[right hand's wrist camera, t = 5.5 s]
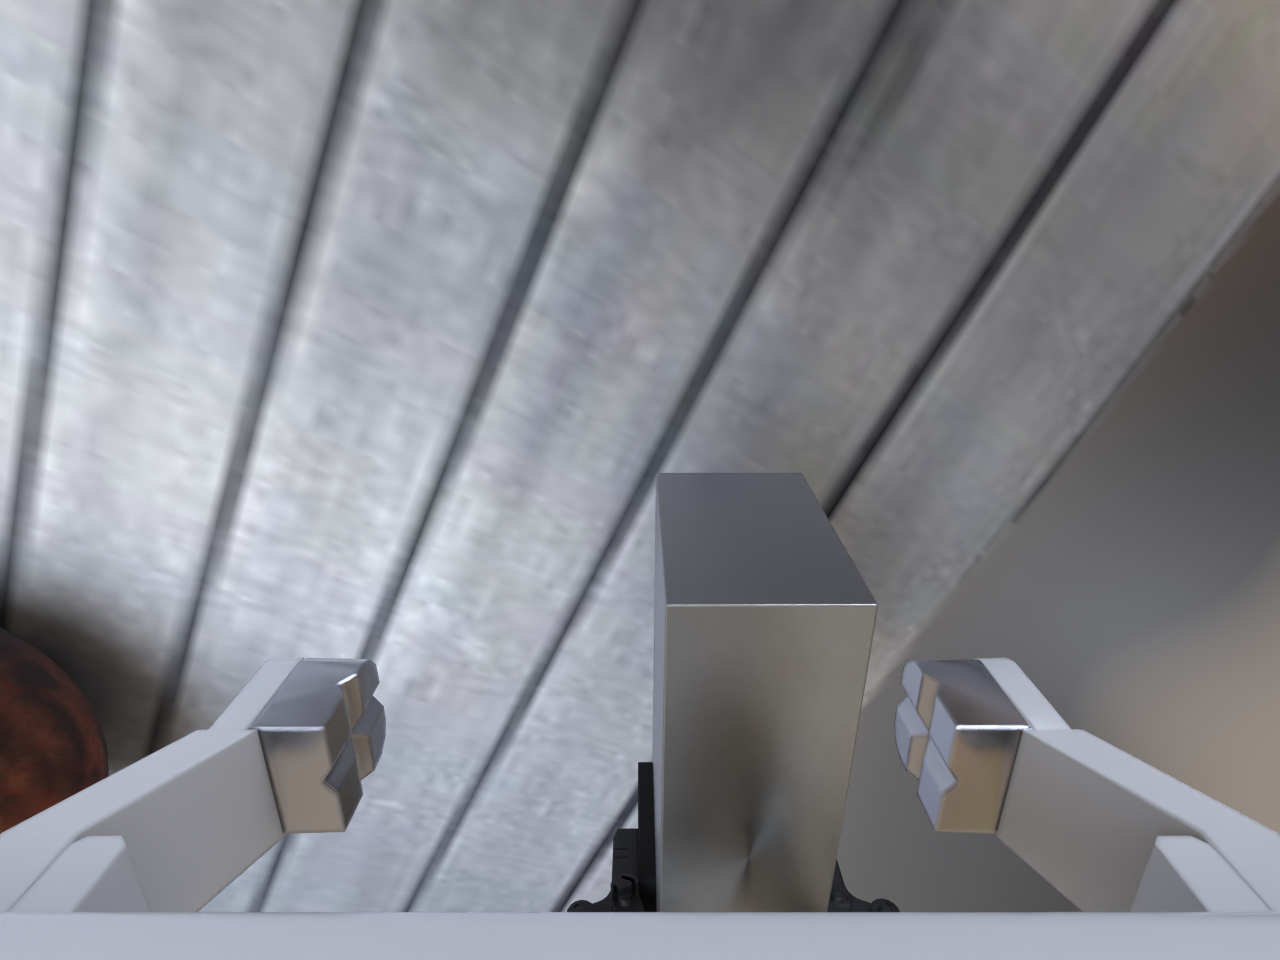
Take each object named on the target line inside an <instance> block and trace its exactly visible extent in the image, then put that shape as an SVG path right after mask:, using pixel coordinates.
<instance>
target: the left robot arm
mask: <svg viewBox="0 0 1280 960" xmlns="http://www.w3.org/2000/svg"><path fill="white" fill-rule="evenodd" d="M567 912H656V859H655V824H654V788H653V762H638V829H618V830H617V832H616V834H615V836H614V838H613V866H612V883H611V891H610V893H609V894H608V896H607V897H606V898H604V899H603V900H601V901H599V902H596V903H593V904H592V903H590V902H588V901H585V900H579V901H575V902H574V903H573V904H571V905H570V907H569V908H568V910H567ZM828 912H900V911H899V909H898V907H897V906H896V905H895V904H894V903H892V902H890V901H889V900H886V899H876V900H875V901H873V902H872V903H868V902H865V901H862V900H860V899H857V898H855V897H854V896H852V895H851V894H850V893H849V892H848V890H847V889H846V887H845V885H844V882H843V879H842V875H841V872H840V869H839V865H838V862H837V858H836V865H835V871H834V877H833V883H832V889H831V895H830V901H829V907H828Z"/></svg>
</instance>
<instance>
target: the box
mask: <svg viewBox="0 0 1280 960" xmlns="http://www.w3.org/2000/svg"><path fill="white" fill-rule="evenodd" d="M877 608H878V605H877V603H876V601H875V599H874V598H873V596H872V594H871V592H870V591H869V589H868V587H867V585H866V584H865V582H864V580H863V578H862V577H861V575H860V573H859V572H858V570H857V568H856V566H855V565H854V563H853V561H852V559H851V558H850V556H849V554H848V552H847V551H846V549H845V547H844V546H843V544H842V542H841V540H840V539H839V537H838V535H837V533H836V532H835V530H834V528H833V526H832V525H831V523H830V521H829V519H828V518H827V516H826V514H825V513H824V511H823V509H822V507H821V506H820V504H819V502H818V500H817V499H816V497H815V495H814V493H813V492H812V490H811V488H810V487H809V485H808V483H807V481H806V480H805V478H804V476H803V474H802V473H657V474H656V527H655V606H654V684H653V788H654V824H655V859H656V912H828V907H829V901H830V895H831V889H832V883H833V877H834V871H835V865H836V858H837V852H838V846H839V840H840V834H841V828H842V822H843V816H844V810H845V803H846V797H847V791H848V785H849V779H850V773H851V767H852V761H853V755H854V748H855V742H856V736H857V730H858V724H859V718H860V712H861V706H862V700H863V693H864V687H865V681H866V675H867V669H868V663H869V657H870V651H871V645H872V638H873V632H874V626H875V620H876V614H877Z"/></svg>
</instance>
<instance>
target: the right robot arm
mask: <svg viewBox="0 0 1280 960" xmlns="http://www.w3.org/2000/svg"><path fill="white" fill-rule="evenodd" d="M379 683H380V682H379V677H378V673H377V668H376V664H375V663H374V662H372V661H371V660H370V659H328V658H306V659H304V658H273V659H271V660H268V661H266V662H265V663H264V664H263V665H262V666H261V668H260V669H259V670H258V671H257V672H256V673H255V675H254V676H253V677H252V678H251V679H250V681H249V682H248V683H247V684H246V685H245V687H244V688H243V689H242V690H241V691H240V692H239V694H238V695H237V696H236V697H235V698H234V700H233V701H232V702H231V703H230V704H229V706H228V707H227V708H226V709H225V710H224V711H223V713H222V714H221V715H220V716H219V717H218V719H217V720H216V721H215V722H214V723H213V725H212V726H211V727H210V728H209V729H208V730H196V731H194V732H192V733H190V734H188V735H186V736H185V737H183V738H181V739H179V740H177V741H175V742H173V743H171V744H169V745H167V746H166V747H164V748H162V749H160V750H158V751H156V752H154V753H152V754H150V755H148V756H147V757H145V758H143V759H141V760H139V761H137V762H135V763H133V764H131V765H130V766H128V767H126V768H124V769H122V770H120V771H118V772H116V773H114V774H112V775H111V776H109V777H107V778H105V779H103V780H101V781H99V782H97V783H95V784H93V785H92V786H90V787H88V788H86V789H84V790H82V791H80V792H78V793H76V794H75V795H73V796H71V797H69V798H67V799H65V800H63V801H61V802H59V803H57V804H56V805H54V806H52V807H50V808H48V809H46V810H44V811H42V812H40V813H38V814H37V815H35V816H33V817H31V818H29V819H27V820H25V821H23V822H21V823H20V824H18V825H16V826H14V827H12V828H10V829H8V830H6V831H4V832H2V833H1V834H0V960H1280V834H1279V833H1277V832H1275V831H1273V830H1271V829H1269V828H1268V827H1266V826H1264V825H1262V824H1260V823H1258V822H1256V821H1254V820H1252V819H1251V818H1249V817H1247V816H1245V815H1243V814H1241V813H1239V812H1237V811H1235V810H1234V809H1232V808H1230V807H1228V806H1226V805H1224V804H1222V803H1220V802H1218V801H1216V800H1215V799H1213V798H1211V797H1209V796H1207V795H1205V794H1203V793H1201V792H1199V791H1198V790H1196V789H1194V788H1192V787H1190V786H1188V785H1186V784H1184V783H1182V782H1181V781H1179V780H1177V779H1175V778H1173V777H1171V776H1169V775H1167V774H1165V773H1163V772H1162V771H1160V770H1158V769H1156V768H1154V767H1152V766H1150V765H1148V764H1146V763H1145V762H1143V761H1141V760H1139V759H1137V758H1135V757H1133V756H1131V755H1130V754H1128V753H1126V752H1124V751H1122V750H1120V749H1118V748H1116V747H1114V746H1112V745H1111V744H1109V743H1107V742H1105V741H1103V740H1101V739H1099V738H1097V737H1095V736H1094V735H1092V734H1090V733H1088V732H1086V731H1084V730H1072V729H1071V728H1070V727H1069V726H1068V725H1067V723H1066V722H1065V721H1064V720H1063V719H1062V717H1061V716H1060V715H1059V714H1058V713H1057V712H1056V710H1055V709H1054V708H1053V707H1052V706H1051V704H1050V703H1049V702H1048V701H1047V700H1046V699H1045V697H1044V696H1043V695H1042V694H1041V693H1040V691H1039V690H1038V689H1037V688H1036V687H1035V685H1034V684H1033V683H1032V682H1031V681H1030V680H1029V678H1028V677H1027V676H1026V675H1025V674H1024V672H1023V671H1022V670H1021V669H1020V668H1019V667H1018V665H1017V664H1016V663H1015V662H1014V661H1012V660H1010V659H1008V658H975V659H972V660H907V662H906V664H905V666H904V668H903V671H902V677H901V684H902V686H903V688H904V690H905V692H906V694H907V696H906V697H905V698H904V699H903V700H902V701H901V702H900V703H899V704H898V705H897V706H896V714H895V722H894V729H895V741H896V746H897V750H898V753H899V757H900V759H901V761H902V763H903V766H904V768H905V770H906V771H907V772H909V773H910V774H911V775H913V776H914V777H915V778H917V779H918V780H919V786H918V791H917V795H918V797H919V799H920V801H921V804H922V805H923V808H924V810H925V812H926V814H927V816H928V818H929V820H930V822H931V824H932V826H933V828H934V830H935V832H958V833H993V834H996V837H997V838H998V839H999V840H1001V841H1002V842H1003V843H1004V844H1005V845H1006V846H1007V847H1009V848H1010V849H1011V850H1012V851H1013V852H1014V853H1016V854H1017V855H1018V856H1019V857H1020V858H1021V859H1022V860H1024V861H1025V862H1026V863H1027V864H1028V865H1029V866H1031V867H1032V868H1033V869H1034V870H1035V871H1036V872H1037V873H1039V874H1040V875H1041V876H1042V877H1043V878H1044V879H1046V880H1047V881H1048V882H1049V883H1050V884H1051V885H1052V886H1054V887H1055V888H1056V889H1057V890H1058V891H1059V892H1060V893H1062V894H1063V895H1064V896H1065V897H1066V898H1067V899H1069V900H1070V901H1071V902H1072V903H1073V904H1074V905H1075V906H1077V907H1078V908H1079V909H1080V910H1081V911H1082V912H982V913H981V912H980V913H939V912H936V913H935V912H933V913H932V912H931V913H930V912H929V913H928V912H198V911H199V910H200V909H201V908H202V907H204V906H205V905H206V904H207V903H208V902H209V901H211V900H212V899H213V898H214V897H215V896H216V895H217V894H219V893H220V892H221V891H222V890H223V889H224V888H226V887H227V886H228V885H229V884H230V883H231V882H232V881H234V880H235V879H236V878H237V877H238V876H239V875H241V874H242V873H243V872H244V871H245V870H246V869H247V868H249V867H250V866H251V865H252V864H253V863H254V862H256V861H257V860H258V859H259V858H260V857H261V856H262V855H264V854H265V853H266V852H267V851H268V850H269V849H271V848H272V847H273V846H274V845H275V844H276V843H277V842H279V841H280V840H281V839H282V838H283V837H284V834H287V833H321V832H345V830H346V828H347V826H348V824H349V822H350V820H351V818H352V816H353V814H354V812H355V810H356V808H357V806H358V804H359V801H360V799H361V797H362V795H363V791H362V785H361V780H362V779H363V778H365V777H366V776H367V775H369V774H370V773H371V772H373V771H374V770H375V768H376V766H377V763H378V761H379V759H380V757H381V754H382V749H383V745H384V740H385V730H386V719H385V713H384V706H383V705H382V704H381V703H380V702H379V701H378V700H377V699H376V698H375V697H374V696H373V694H374V692H375V690H376V688H377V686H378V684H379Z"/></svg>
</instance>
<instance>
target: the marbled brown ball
mask: <svg viewBox="0 0 1280 960" xmlns="http://www.w3.org/2000/svg"><path fill="white" fill-rule="evenodd" d="M107 777H108V753H107V747H106V742H105V737H104V734H103V731H102V728H101V724H100V722H99V720H98V718H97V715H96V713H95V711H94V709H93V707H92V706H91V704H90V702H89V701H88V699H87V697H86V696H85V694H84V693H83V692H82V690H81V689H80V688H79V686H78V685H77V684H76V682H75V681H74V680H73V679H72V678H71V677H70V676H69V675H68V674H67V673H66V672H65V671H64V670H63V669H62V668H61V667H60V666H59V665H57V664H56V663H55V662H54V661H53V660H52V659H51V658H49V657H48V656H47V655H45V654H44V653H42V652H41V651H40V650H38V649H37V648H36V647H34V646H33V645H31V644H29V643H28V642H26V641H24V640H23V639H21V638H19V637H18V636H16V635H14V634H12V633H10V632H8V631H6V630H4V629H2V628H0V834H1V833H2V832H4V831H6V830H8V829H10V828H12V827H14V826H16V825H18V824H20V823H21V822H23V821H25V820H27V819H29V818H31V817H33V816H35V815H37V814H38V813H40V812H42V811H44V810H46V809H48V808H50V807H52V806H54V805H56V804H57V803H59V802H61V801H63V800H65V799H67V798H69V797H71V796H73V795H75V794H76V793H78V792H80V791H82V790H84V789H86V788H88V787H90V786H92V785H93V784H95V783H97V782H99V781H101V780H103V779H105V778H107Z"/></svg>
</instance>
